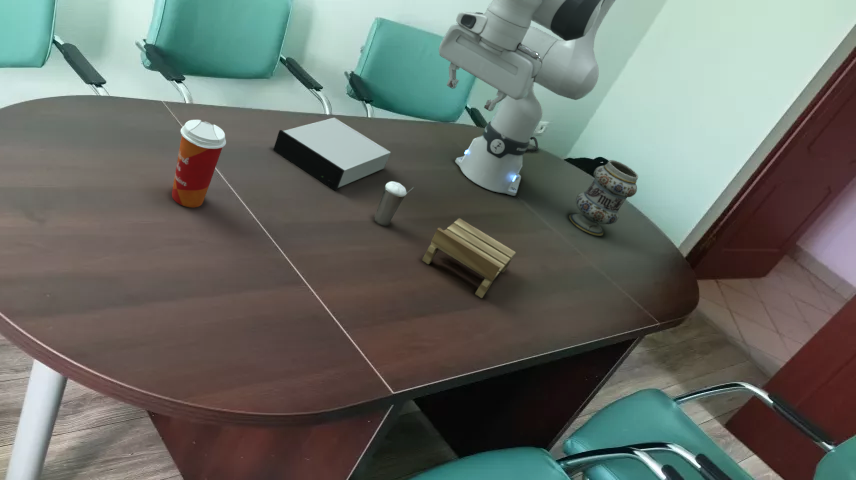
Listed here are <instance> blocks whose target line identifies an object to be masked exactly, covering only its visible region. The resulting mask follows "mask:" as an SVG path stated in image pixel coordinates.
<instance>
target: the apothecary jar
mask: <svg viewBox="0 0 856 480" xmlns="http://www.w3.org/2000/svg"><path fill="white" fill-rule="evenodd" d="M593 178H594V179H593V180H592V182H591V184H589V187H588V188H587V189H586V191H582V192H580V193H578V194H577V196H576V197H575V204H576V207H577V209H578V210H579V212H580V213H571V214H569V220H570V222H571V223H572V224H573V225H574V226H576V228H578V229H579V230H581V231H583V232H584V233H587V234H588V235H591V236H592V235H593V236H598V237H599V236H603V235H604V230H603V228H602V226H601V225H613V224H615V223H617V221H618V220H619V218H620V209H621V207H622V205H623V204H624V203H625V201H626V200H627V199H628V198H632V197H633V196H635V195H636V194H637V191H638V185H637V181H638V179H639V174H638V173H637V172H636V171H635V170H633V169H632V168H631V167H629V166H628V165H626V164H624V163H622V162H620V161H617V160H614V159H609V160H608V161H607V162H606V163H605V164H604V165H599V166H597V167H596V168H595V169H594V171H593ZM600 224H601V225H600Z"/></svg>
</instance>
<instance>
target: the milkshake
mask: <svg viewBox="0 0 856 480" xmlns="http://www.w3.org/2000/svg"><path fill="white" fill-rule="evenodd" d="M414 188H415V187H414V186H413V187H411V188H410V189H409V190H408V191H407V189H406V187H405V186H404V185H402V184H401V183H400V182H397V181H392V180H391V181H388V182H387V183H386V184H385V186H384V189H383V192H382V195H381V198H380V201H379V204H378V207H377V209H376V212H375V215H374V217H373V218H374V221H375V222H376V223H377V224H378V225H380V226H383V227H387V226H388V225H390V223H391V221H392V219H393V217H394V216H395V214H396V212H397V211H398V209H399V207H400V205H401V204H402V203H403V201H404V199H405V197H406V195H407V194H408V193H410V191H412V190H413V189H414Z"/></svg>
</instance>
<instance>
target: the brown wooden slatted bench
mask: <svg viewBox="0 0 856 480" xmlns="http://www.w3.org/2000/svg"><path fill="white" fill-rule="evenodd" d="M430 242H431V243H430V245H429V246H428V248H427V250H426V251H425V253H424V256H423V257H422V259H421V261H423V263H426V264H427V265H430V264H431V263H432V262H433V260H434V258H435V256H436V254H437V253H438V250H440V251H442V252H443V253H445V254H447V255H448V256H449V257H451V258H453V259H454V260H456V261H458V262H459V263H461V264H462V265H464V266H466V267H467V268H469V269H470V270H472V271H474V272H475V273H477V274H479V276H481V277H483V278H484V279H483V280H482V281H481V283H480V284H479V286H478V287H477V290H476V291H475V293H474V295H475V296H477V297H479V298H480V299H483V298H484V297H485V295H486V294H487V292H488V290H489V289H490V287H491V285H492V283H493V281H495V279H496V278H497V277H498V275H499V274H500V273H504V272H506V269H507V268H508V267H509V265H510V262H512V260H513V257H514V256H515V255H516V251H514V250H513V249H511V248H509V247H508V246H506V245H505V244H503V243H501V242H500V241H498V240H496V239H494V238H493V237H491V236H489V235H488V234H487V233H485V232H483V231H481V230H480V229H478V228H477V227H475V226H473V225H471V224H470V223H468V222H466V221H465V220H463V219H462V218H460V217H459V218H457V219H456V220H455V221H454V222H453V223H451V224H450V225H449V226H447V228H446V229H442V228H441V227H437V229H436V231H435V232H434V235H433V237H432V239H431V240H430Z"/></svg>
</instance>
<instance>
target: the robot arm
mask: <svg viewBox="0 0 856 480" xmlns="http://www.w3.org/2000/svg"><path fill="white" fill-rule="evenodd" d="M615 2H616V0H492V1H491V2H490V3H489V5H488V6H487V8H486V10H485V12H484V13H483V12H479V11H478V12H477V11H476V12H475V11H474V12H473V11H459V13H458V14H457V16H456V19H455V20H456V23H454V24H451V26H450V27H449V28H448V29H447V31H446V32H445V34H444V36H443V37H442V40H441V42H440V44H439V46H438V55H439V56H440V57H441V58H443V59H445V60H447V62H450V63H449V65H448V77H449V78H448V80H447V82H446V86H447V87H448V88H450V89H452V90H454V89H456V88H457V85H458V84H459V82H460V79H458V78H457V70H460V69H461V70H463V71H465V72H467V73H468V74H470V75H472V76H473V77H475V78H477V79H479V80H480V81H482V82H484V83H486V84H487V85H489V86H491V87H492V88H494V89H496V90H497V92H496V95H495V96H497V97H496V98H494V99H487V100H486V103H485V104H484V107H483V108H484V109H485V110H487V111H488V112H493V111H494V110H495V107H496V105H498V106H497V108H496V110H495V112H494V114H493V117H492V118H491V120H490V121H489V122H488V123H487V125H486V126H485V127H484V130H483V132H482V135H480V136H477V137H474V138H473V139H472V141H471V143H470V145H469V147H468V148H467V149H466V150H465V151H464V155H463V156H459V157H458V156H457V157H456V158H455V160H454V162H455V164H456V165H457V166H458V167H459V168H460V170H461V172H462V174H463V175H464V176H466V178H468V180H469V181H471V182H473V183H474V184H476V185H477V186H479V187H481V188H484V189H486V190H489V191H491V192H496V193H501V194H507V195H509V196H513V197H515V196H516V195H517V193H518V189H519V185H520V183H521V179H522V176H521V175H520V171H521V169H522V167H523V166H524V165H523V162H524V155H525V153H526V152H535V151H537V150H538V149H539V142H538V139H537V138H536V137H535V136H533V135H534V133H535V131H536V129H537V128H538V126H539V124H540V122H541V120H542V118H543V108H542V104H541V103H540V101H539V99H538V98H537V97H536V95H535V89H534V85H535V84H537V85H539V86H542V87H543V88H545V89H547V90H548V91H550V92H552V93H554V94H556V95H558V96H561V97H562V98H567V99H570V100H574V101H577V100H580V99H583V98H584V97H586V96H588V95H589V94H590V93H591V92H593V90H594V88H595V87H596V85H597V83H598V80H599V76H600V68H599V64H598V62H597V59H596V55H595V39H596V37H597V32H598V31H599V28H600V26H601V24H602V23H603V21H604V19H605V18H606V16H607V14H608V13H609V11H610V10H611V8H612V7H613V5H614V3H615ZM532 22H534V23H535V24H537V25H539V26H541V27H543V28H545V29H547V30H549V31H550V32H552V33H553V34H554V35H556V36H557V37H558V38H560V39H558V38H557V37H555V36H553V35H551V34H549V33H547V32H545V31H543V30H542V29H540V28H538V27H534V26H532V25H531V24H532ZM498 103H499V104H498ZM530 140H533V142H534V145H535V146H534V147H533V148H529V146H530V143H531V141H530Z"/></svg>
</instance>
